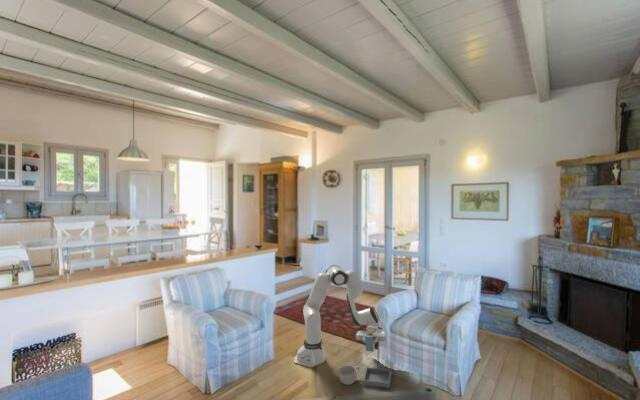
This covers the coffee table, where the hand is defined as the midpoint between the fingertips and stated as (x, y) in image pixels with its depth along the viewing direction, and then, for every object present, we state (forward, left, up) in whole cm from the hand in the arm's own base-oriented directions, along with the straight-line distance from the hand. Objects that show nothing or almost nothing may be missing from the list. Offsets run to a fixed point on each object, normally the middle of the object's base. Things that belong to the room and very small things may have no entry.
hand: (369, 341), depth 210 cm
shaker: (0, +1, -5) cm, 6 cm away
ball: (+1, +2, +6) cm, 6 cm away
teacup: (-11, -16, -18) cm, 27 cm away
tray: (+5, -12, -18) cm, 22 cm away
